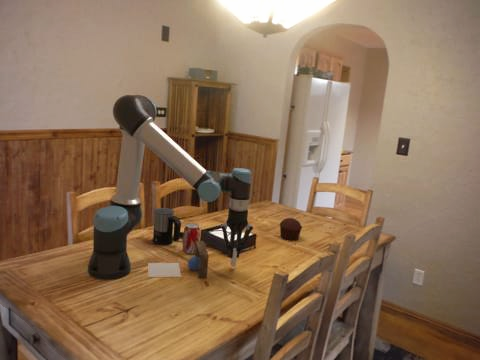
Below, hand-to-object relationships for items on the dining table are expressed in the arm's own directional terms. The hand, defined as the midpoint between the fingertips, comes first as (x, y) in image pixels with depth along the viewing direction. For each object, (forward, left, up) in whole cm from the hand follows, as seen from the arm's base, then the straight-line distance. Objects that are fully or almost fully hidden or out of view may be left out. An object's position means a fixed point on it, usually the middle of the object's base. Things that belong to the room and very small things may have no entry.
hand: (233, 265), depth 159 cm
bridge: (-13, 0, -2) cm, 13 cm away
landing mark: (-27, 0, -2) cm, 27 cm away
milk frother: (-23, +31, -2) cm, 39 cm away
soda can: (-15, +18, -2) cm, 24 cm away
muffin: (+37, +36, -2) cm, 52 cm away
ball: (-15, 0, +1) cm, 15 cm away
